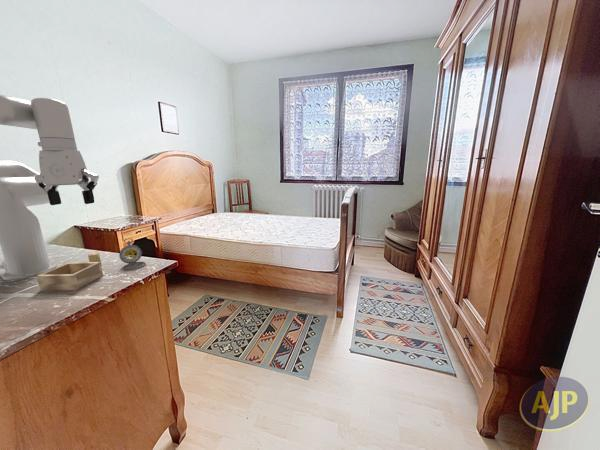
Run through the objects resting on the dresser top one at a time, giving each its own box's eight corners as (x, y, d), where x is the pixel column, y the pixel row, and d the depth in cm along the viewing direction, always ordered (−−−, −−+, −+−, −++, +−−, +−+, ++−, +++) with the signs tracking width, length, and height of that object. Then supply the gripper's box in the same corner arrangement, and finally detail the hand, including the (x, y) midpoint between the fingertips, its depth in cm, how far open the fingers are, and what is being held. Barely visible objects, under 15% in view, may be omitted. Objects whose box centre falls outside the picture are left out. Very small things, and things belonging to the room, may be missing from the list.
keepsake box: (40, 292, 70) (36, 276, 69) (72, 277, 79) (68, 262, 78) (76, 291, 70) (72, 275, 69) (103, 276, 80) (100, 262, 78)
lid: (68, 276, 81) (64, 259, 80) (93, 264, 91) (90, 249, 90) (100, 275, 81) (96, 259, 80) (122, 263, 92) (119, 249, 90)
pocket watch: (135, 272, 83) (130, 243, 80) (114, 270, 84) (108, 242, 82) (153, 263, 90) (149, 237, 88) (134, 261, 92) (130, 236, 90)
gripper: (13, 145, 67) (30, 206, 71) (80, 144, 69) (94, 204, 73) (39, 147, 75) (53, 203, 79) (99, 146, 76) (110, 201, 80)
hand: (73, 203), depth 76 cm, fingers open, 9 cm apart
